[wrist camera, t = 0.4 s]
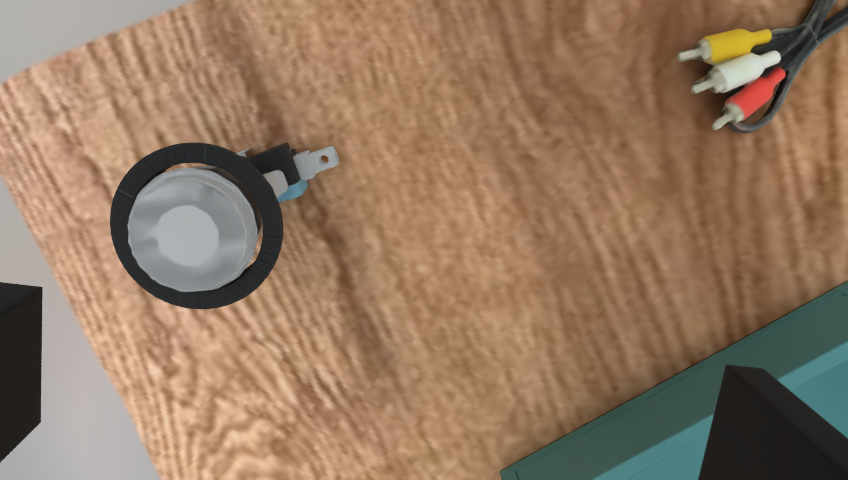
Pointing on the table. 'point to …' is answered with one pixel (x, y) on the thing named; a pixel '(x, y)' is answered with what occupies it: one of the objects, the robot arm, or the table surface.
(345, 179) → the table surface
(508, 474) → the tray
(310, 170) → the push button
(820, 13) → the composite cable
